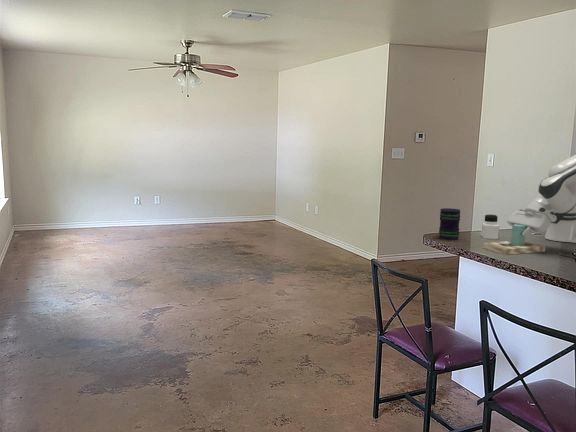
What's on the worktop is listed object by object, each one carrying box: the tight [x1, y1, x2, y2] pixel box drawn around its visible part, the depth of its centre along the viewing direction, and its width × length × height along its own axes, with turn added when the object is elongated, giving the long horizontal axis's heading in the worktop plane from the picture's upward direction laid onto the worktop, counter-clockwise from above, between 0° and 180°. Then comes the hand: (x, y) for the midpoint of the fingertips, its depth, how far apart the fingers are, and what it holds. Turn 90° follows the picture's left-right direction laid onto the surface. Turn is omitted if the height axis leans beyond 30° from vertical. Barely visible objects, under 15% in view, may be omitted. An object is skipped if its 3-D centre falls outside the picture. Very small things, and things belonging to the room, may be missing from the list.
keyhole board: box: [483, 240, 546, 256], centre depth 228 cm, size 22×14×2 cm, turn 108°
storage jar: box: [438, 207, 461, 241], centre depth 252 cm, size 10×10×15 cm
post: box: [510, 225, 526, 246], centre depth 227 cm, size 4×4×10 cm
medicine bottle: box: [480, 214, 500, 240], centre depth 255 cm, size 7×7×12 cm
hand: (517, 234), depth 227 cm, fingers closed on post, 4 cm apart
